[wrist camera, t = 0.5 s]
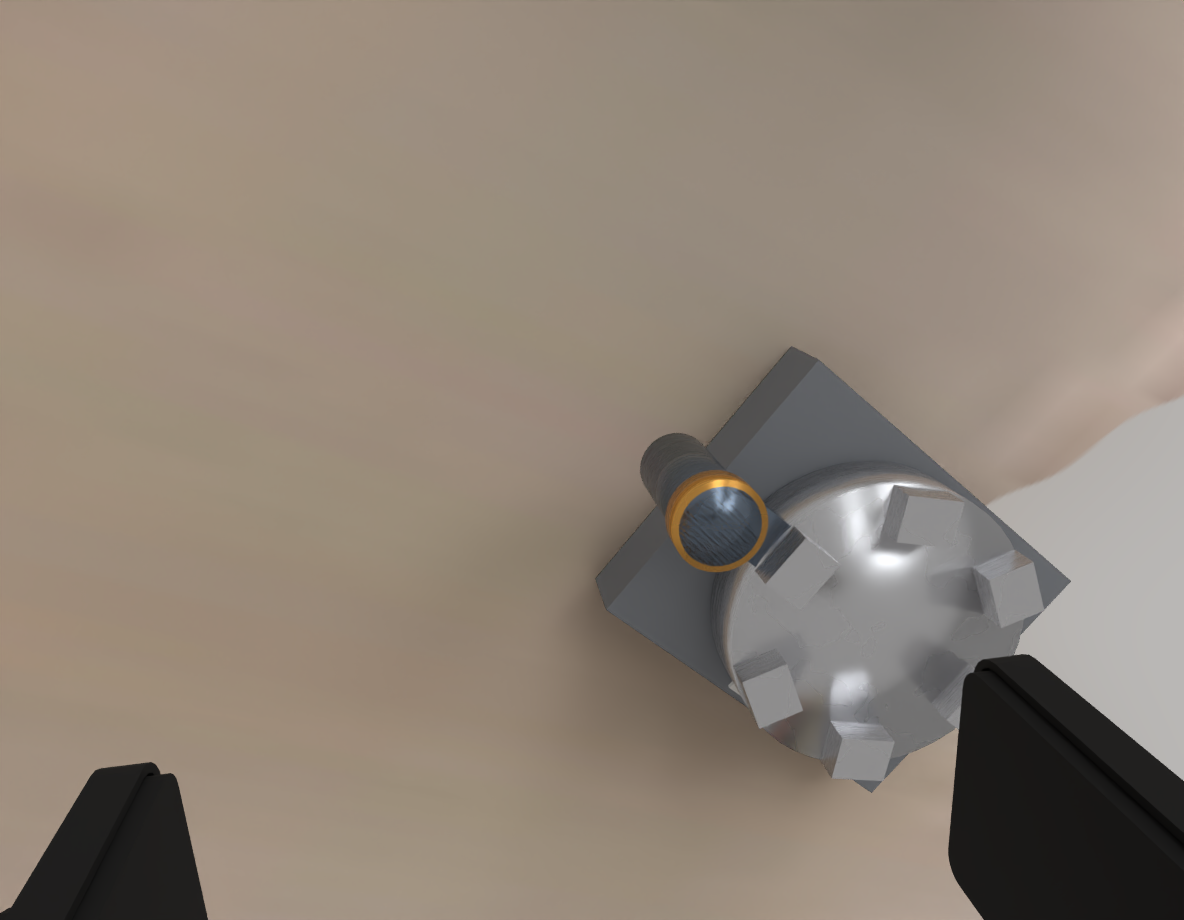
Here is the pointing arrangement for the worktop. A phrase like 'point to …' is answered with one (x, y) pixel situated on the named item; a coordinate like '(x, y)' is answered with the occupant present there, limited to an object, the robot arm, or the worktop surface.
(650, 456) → the gold-rimmed tube plate
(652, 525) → the grey rectangular base plate
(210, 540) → the worktop surface
